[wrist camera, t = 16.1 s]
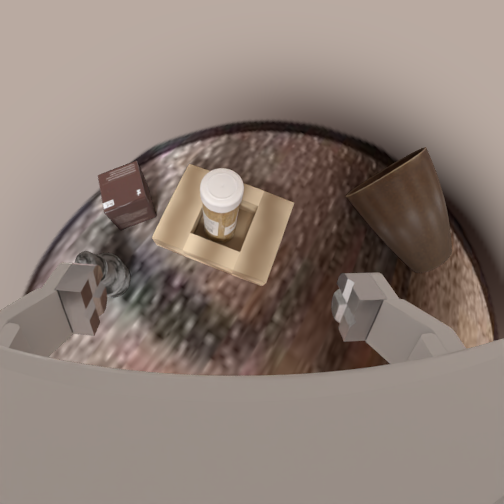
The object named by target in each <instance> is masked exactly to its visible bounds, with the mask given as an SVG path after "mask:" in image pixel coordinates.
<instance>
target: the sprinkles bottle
mask: <svg viewBox="0 0 504 504" xmlns="http://www.w3.org/2000/svg"><path fill="white" fill-rule="evenodd" d="M243 193H244V184H243V181H242V179H241V177H240V176H239V175H238V174H237V173H236V172H234V171H232V170H230V169H226V168H218V169H214V170H212V171H210V172H208V173H207V174H206V175H205V176H204V177H203V179H202V181H201V184H200V197H201V200H202V202H203V204H202V208H203V218H204V231H205V234H206V236H207V237H208V238H209V239H210V240H211V241H213V242H215V243H225V242H227V241H229V240H230V239H231V238H232V237H233V236H234V234H235V231H236V223H237V216H238V211H239V204H240V203H241V201H242V198H243Z"/></svg>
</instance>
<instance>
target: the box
mask: <svg viewBox="0 0 504 504" xmlns="http://www.w3.org/2000/svg"><path fill="white" fill-rule="evenodd" d="M98 180H99V185H100V192H101V197H102V203H103V208H104V213H105V214H106V215H107V216H108V217H109V218H110V219H111V221H112V222H113V223H114V224H115V225H116V226H117V227H118V228H119V229H120V230H122V229H125V228H127V227H130V226H133V225H135V224H138V223H141V222H144V221H146V220H149V219H152V218H155V217H156V213H155V210H154V206H153V203H152V199H151V196H150V192H149V189H148V185H147V183H146V180H145V178H144V176H143V173H142V171H141V169H140V166H139V164H138V162H137V161H134V162H132V163H129V164H126V165H123V166H121V167H118V168H115V169H113V170H110V171H108V172H106V173H103V174H100V175H98Z"/></svg>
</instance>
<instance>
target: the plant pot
mask: <svg viewBox="0 0 504 504" xmlns="http://www.w3.org/2000/svg"><path fill="white" fill-rule="evenodd" d="M346 197H347V199H348V200H349V201H350V202H351V204H352V205H353V206H354V207H355V209H356V210H357V211H358V212H359V214H360V215H361V216H362V217H363V219H364V220H365V221H366V222H367V223H368V225H369V226H370V227H371V228H372V229H373V230H374V231H375V233H376V234H377V235H378V236H379V237H380V238H381V239H382V240H383V241H384V242H385V244H386V245H387V246H388V247H389V248H390V249H391V250H392V251H393V252H394V253H395V254H396V255H397V256H398V257H399V258H400V259H401V260H402V261H403V262H404V263H405V264H406V265H407V266H408V267H410V268H411V269H412V270H413V271H414V272H416V273H424V272H428V271H430V270H433V269H435V268H437V267H438V266H440V265H441V264H443V263H444V262H445V261H446V260H447V259H448V258H449V257H450V255H451V252H452V246H451V234H450V225H449V219H448V213H447V208H446V204H445V200H444V196H443V192H442V189H441V185H440V182H439V179H438V176H437V173H436V170H435V168H434V165H433V163H432V160H431V158H430V155H429V153H428V151H427V149H426V147H425V148H421V149H419V150H417V151H415V152H413V153H411V154H410V155H408V156H406V157H404V158H403V159H400V160H399V161H397V162H395V163H394V164H392V165H390V166H389V167H387V168H385V169H384V170H382V171H380V172H379V173H377V174H376V175H374V176H372V177H371V178H369V179H368V180H366V181H365V182H363V183H362V184H360V185H359V186H357V187H356V188H354V189H353V190H352V191H350V192H349V193H348V194H347V195H346Z"/></svg>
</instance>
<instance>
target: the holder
mask: <svg viewBox="0 0 504 504" xmlns="http://www.w3.org/2000/svg"><path fill="white" fill-rule="evenodd" d="M208 172H210V171H209V170H206V169H203V168H200V167H197V166H194V165H192V164H189V165H188V167H187V169H186V171H185V173H184V174H183V176H182V178H181V180H180V182H179V184H178V186H177V188H176V190H175V192H174V194H173V196H172V198H171V199H170V201H169V203H168V205H167V207H166V209H165V212H164V214H163V216H162V218H161V220H160V222H159V224H158V226H157V228H156V230H155V232H154V234H153V237H152V238H153V240H154V241H155V243H156V244H157V245H158V246H161V247H163V248H166V249H168V250H171V251H173V252H175V253H178V254H180V255H183V256H185V257H188V258H190V259H193V260H195V261H198V262H200V263H203V264H205V265H208V266H210V267H213V268H216V269H218V270H221V271H223V272H226V273H228V274H231V275H233V276H236V277H239V278H241V279H244V280H246V281H249V282H252V283H254V284H257V285H259V286H263V285H264V284H265V283H266V282H267V279H268V276H269V273H270V271H271V268H272V265H273V262H274V259H275V257H276V254H277V251H278V248H279V245H280V242H281V240H282V237H283V234H284V231H285V228H286V225H287V222H288V220H289V217H290V214H291V211H292V208H293V205H294V203H293V202H291V201H288V200H286V199H283V198H281V197H278V196H276V195H273V194H271V193H268V192H266V191H263V190H260V189H258V188H255V187H252V186H250V185H247V184H245V183H243V184H244V193H243V198H242V201H241V203H240V204H239V211H238V216H237V223H236V231H235V234H234V236H233V237H232V238H231V239H230V240H229V241H227V242H225V243H215V242H213V241H211V240H210V239H209V238H208V237H207V236H206V234H205V231H204V218H203V208H202V204H203V202H202V200H201V197H200V184H201V181H202V179H203V177H204V176H205V175H206V174H207V173H208Z"/></svg>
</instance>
